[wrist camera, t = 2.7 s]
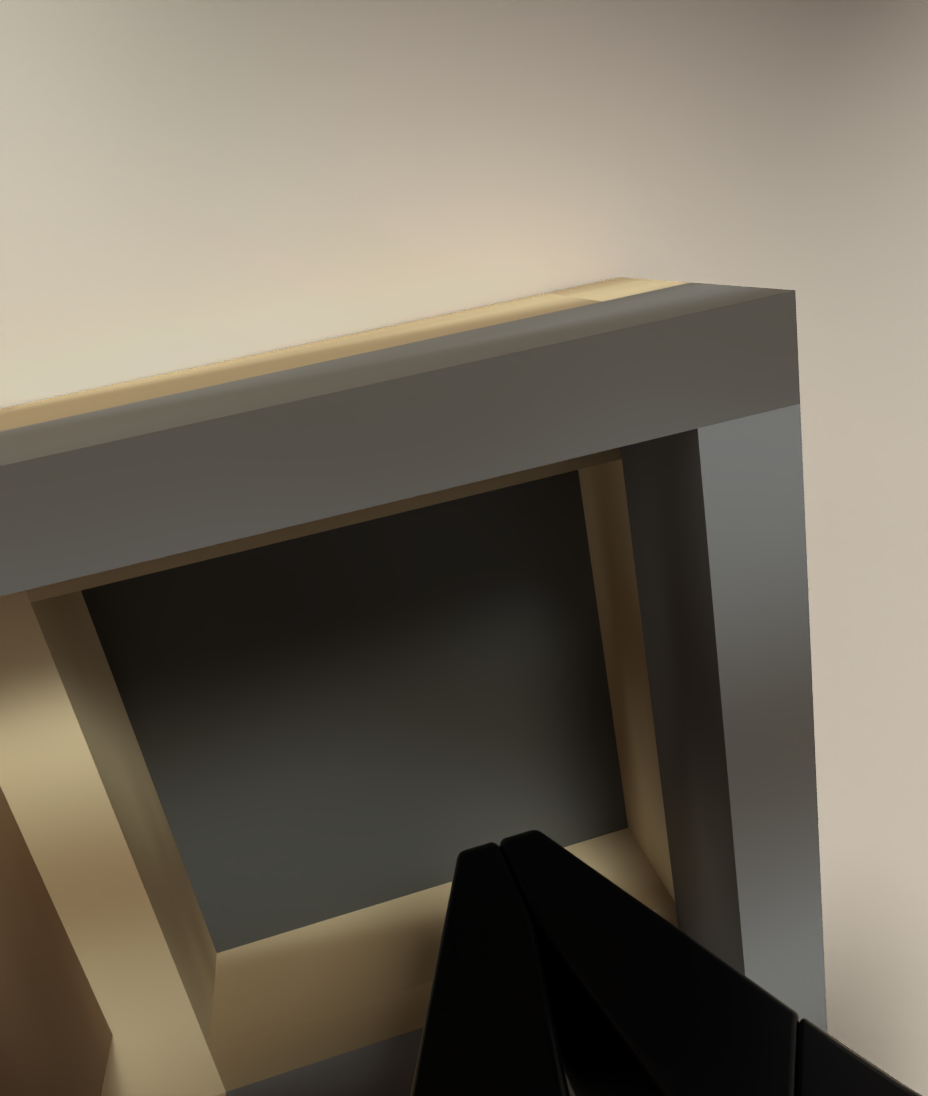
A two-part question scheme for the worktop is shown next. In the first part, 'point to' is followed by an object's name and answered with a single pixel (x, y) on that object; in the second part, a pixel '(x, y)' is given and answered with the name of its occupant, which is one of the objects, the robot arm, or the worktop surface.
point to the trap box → (408, 664)
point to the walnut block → (42, 987)
